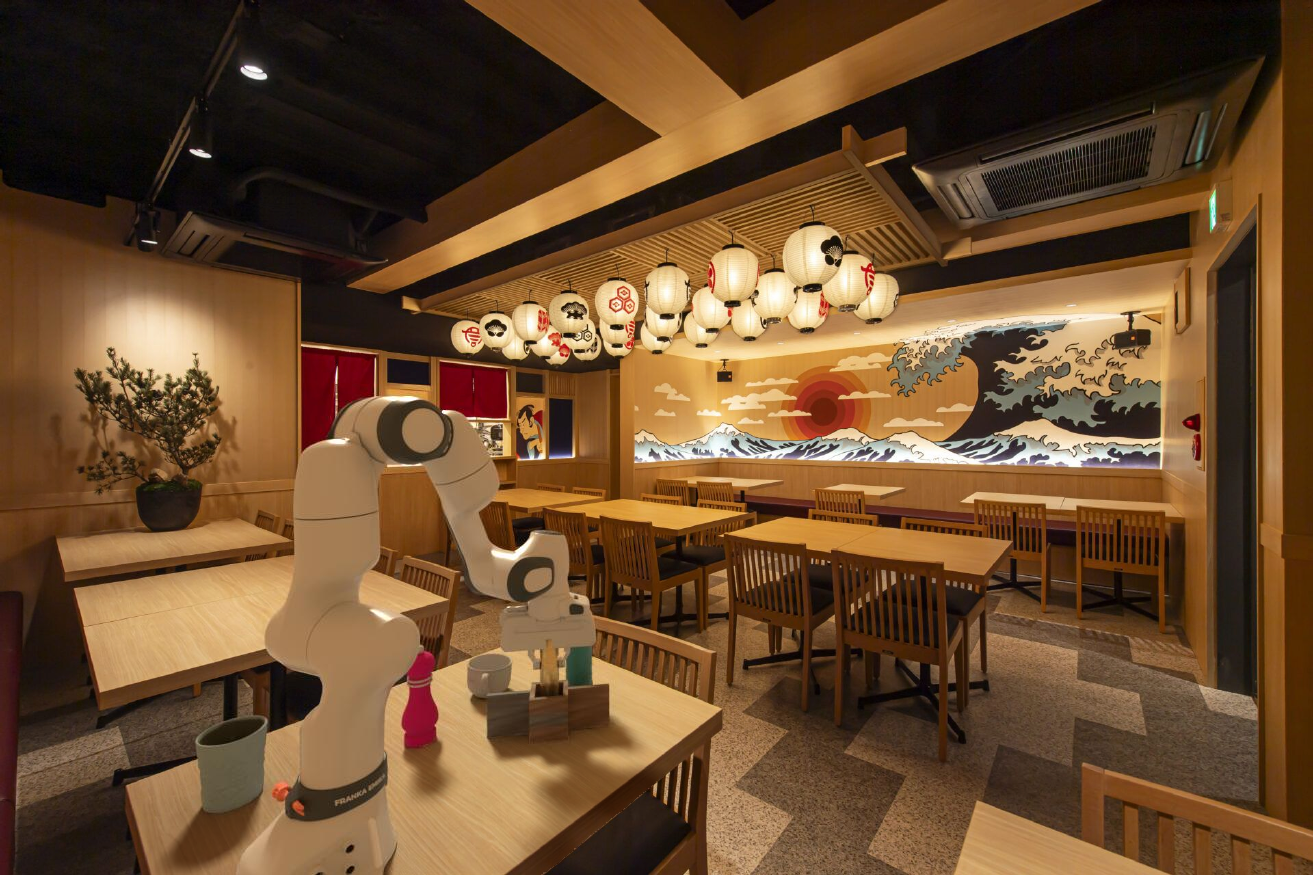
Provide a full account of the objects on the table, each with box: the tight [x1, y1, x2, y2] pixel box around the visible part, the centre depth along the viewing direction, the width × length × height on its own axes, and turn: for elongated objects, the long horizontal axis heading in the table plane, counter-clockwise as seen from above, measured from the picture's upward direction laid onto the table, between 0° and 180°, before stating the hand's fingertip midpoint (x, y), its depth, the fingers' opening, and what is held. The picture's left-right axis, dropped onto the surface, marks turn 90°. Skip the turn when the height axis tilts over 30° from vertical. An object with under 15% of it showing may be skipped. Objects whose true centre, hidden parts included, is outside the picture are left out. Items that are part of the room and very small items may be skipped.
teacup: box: [466, 652, 513, 699], centre depth 130 cm, size 14×11×8 cm
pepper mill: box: [400, 644, 440, 749], centre depth 112 cm, size 7×7×20 cm
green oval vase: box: [195, 715, 268, 814], centre depth 94 cm, size 10×10×12 cm
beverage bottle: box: [565, 645, 594, 687], centre depth 125 cm, size 6×7×20 cm
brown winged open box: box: [486, 679, 611, 744], centre depth 115 cm, size 8×26×9 cm, turn 99°
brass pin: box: [539, 639, 560, 697], centre depth 115 cm, size 4×4×16 cm
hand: (549, 667), depth 115 cm, fingers closed on brass pin, 4 cm apart
